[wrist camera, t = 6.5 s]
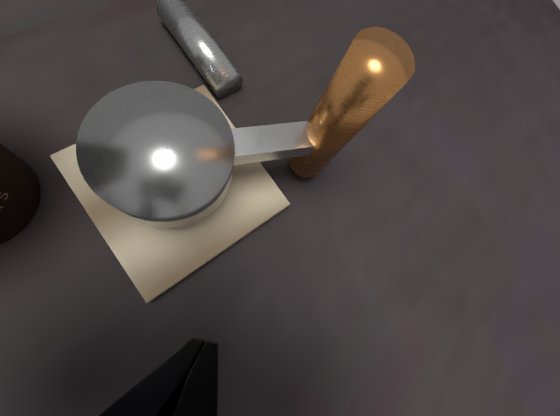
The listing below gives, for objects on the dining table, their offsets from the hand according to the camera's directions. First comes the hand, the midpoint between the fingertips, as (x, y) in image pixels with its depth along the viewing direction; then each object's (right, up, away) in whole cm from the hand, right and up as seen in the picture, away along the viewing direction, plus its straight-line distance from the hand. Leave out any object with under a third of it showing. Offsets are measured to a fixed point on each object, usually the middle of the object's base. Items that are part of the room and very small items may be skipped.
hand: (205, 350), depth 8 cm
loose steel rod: (-3, +18, +12) cm, 21 cm away
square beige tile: (-5, +6, +10) cm, 13 cm away
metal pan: (-1, +7, +10) cm, 12 cm away
